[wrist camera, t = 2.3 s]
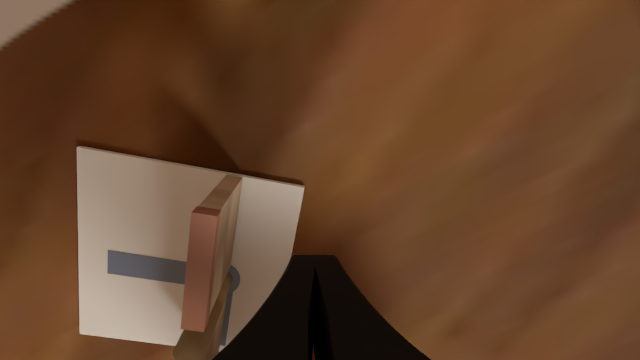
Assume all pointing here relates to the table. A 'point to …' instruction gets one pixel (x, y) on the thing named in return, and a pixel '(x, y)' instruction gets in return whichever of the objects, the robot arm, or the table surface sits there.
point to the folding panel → (209, 251)
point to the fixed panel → (205, 332)
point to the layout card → (169, 244)
